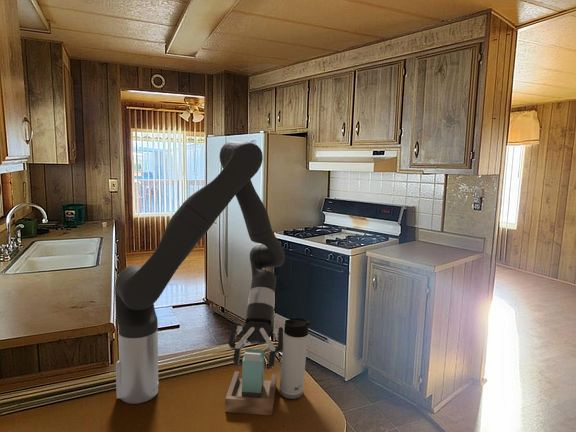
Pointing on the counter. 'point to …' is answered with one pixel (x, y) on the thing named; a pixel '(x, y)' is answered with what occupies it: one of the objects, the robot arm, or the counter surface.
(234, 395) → the wooden tray
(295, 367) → the travel mug
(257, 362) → the mint green block
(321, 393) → the counter surface
